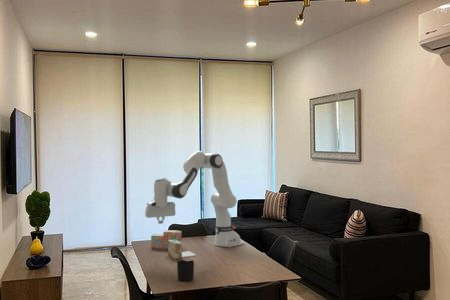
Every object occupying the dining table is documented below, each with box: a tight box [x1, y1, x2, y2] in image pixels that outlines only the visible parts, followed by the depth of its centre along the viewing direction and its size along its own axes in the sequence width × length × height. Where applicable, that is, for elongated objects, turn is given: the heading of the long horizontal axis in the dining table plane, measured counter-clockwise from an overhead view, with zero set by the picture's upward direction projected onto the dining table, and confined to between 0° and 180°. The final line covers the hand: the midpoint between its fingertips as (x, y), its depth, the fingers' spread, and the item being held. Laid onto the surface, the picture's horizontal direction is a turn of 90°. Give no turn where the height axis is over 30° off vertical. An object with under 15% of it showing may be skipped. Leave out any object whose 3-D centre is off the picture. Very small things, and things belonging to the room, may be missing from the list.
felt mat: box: [181, 250, 197, 259], centre depth 296 cm, size 10×12×1 cm
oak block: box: [167, 240, 183, 260], centre depth 292 cm, size 5×12×10 cm, turn 29°
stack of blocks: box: [150, 229, 183, 250], centre depth 317 cm, size 21×6×12 cm, turn 83°
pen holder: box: [176, 259, 195, 283], centre depth 241 cm, size 9×9×10 cm
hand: (160, 223), depth 287 cm, fingers closed
